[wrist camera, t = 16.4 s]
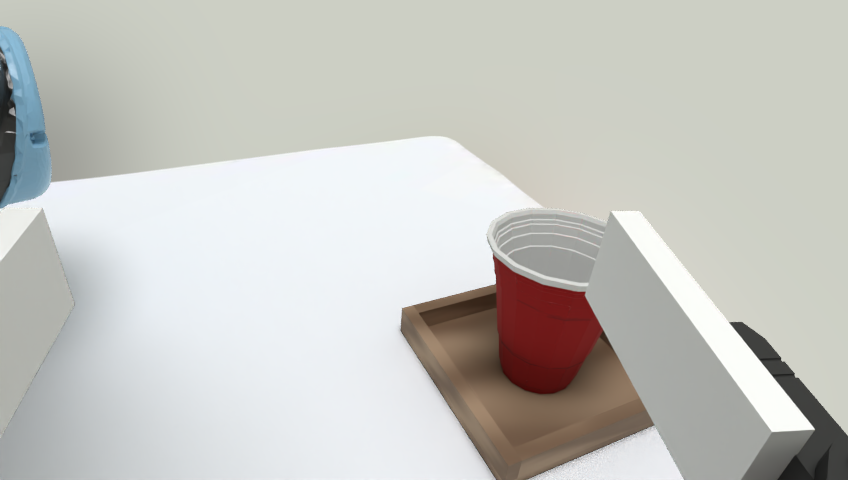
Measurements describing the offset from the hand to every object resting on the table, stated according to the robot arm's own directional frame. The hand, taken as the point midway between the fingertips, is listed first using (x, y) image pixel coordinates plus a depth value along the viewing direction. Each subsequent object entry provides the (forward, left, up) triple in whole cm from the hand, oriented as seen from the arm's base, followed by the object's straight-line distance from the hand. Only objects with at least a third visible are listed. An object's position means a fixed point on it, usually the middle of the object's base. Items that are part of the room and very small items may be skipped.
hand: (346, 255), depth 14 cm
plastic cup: (-14, +21, -25) cm, 35 cm away
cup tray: (-14, +21, -25) cm, 35 cm away
